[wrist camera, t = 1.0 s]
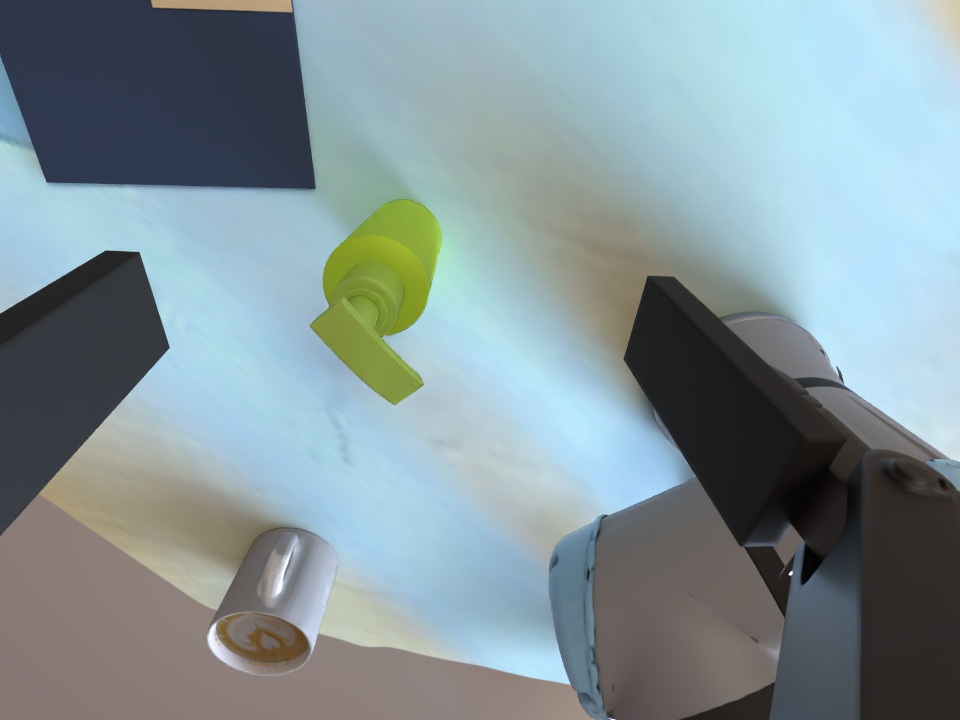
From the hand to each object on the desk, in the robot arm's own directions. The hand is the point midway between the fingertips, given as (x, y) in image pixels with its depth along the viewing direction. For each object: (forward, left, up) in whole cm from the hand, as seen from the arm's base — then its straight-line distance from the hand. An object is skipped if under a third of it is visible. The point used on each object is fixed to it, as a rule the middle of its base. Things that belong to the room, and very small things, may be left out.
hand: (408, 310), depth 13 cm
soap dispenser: (-4, +3, -27) cm, 27 cm away
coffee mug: (-39, +17, -27) cm, 50 cm away
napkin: (+10, +20, -26) cm, 35 cm away
